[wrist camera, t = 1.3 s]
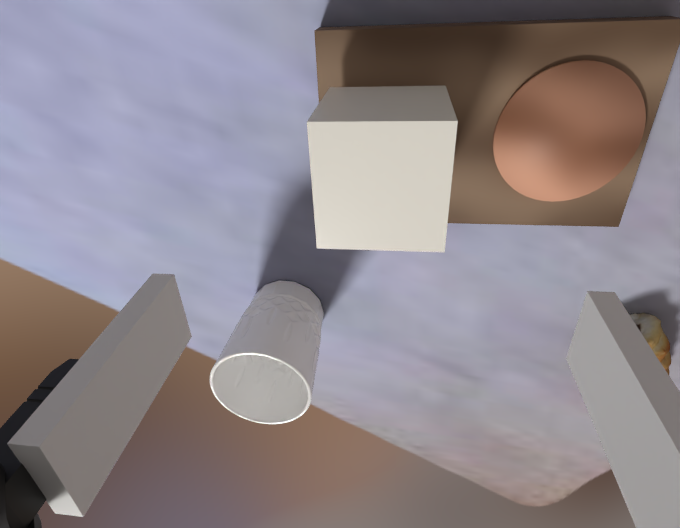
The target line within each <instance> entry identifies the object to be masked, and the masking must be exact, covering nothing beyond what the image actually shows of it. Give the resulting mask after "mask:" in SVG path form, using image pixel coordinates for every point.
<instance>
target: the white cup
mask: <svg viewBox="0 0 680 528" xmlns="http://www.w3.org/2000/svg"><path fill="white" fill-rule="evenodd" d="M323 316H324V313H323V309H322V305H321V302H320V300H319V299H318V297H317V296H316V295H315V294H314V293H313V292H312V291H311V290H310V289H309V288H307V287H305V286H302V285H300V284H298V283H296V282H291V281H280V280H279V281H275V282H272V283H269V284H266V285H264V286H263V287H262V288H261V289H260V290H259V291H258V292H257V293H256V294H255V296H254V298H253V299H252V301H251V303H250V305H249V307H248V308H247V309H246V311H245V312H244V314H243V315H242V317H241V319H240V321H239V322H238V324H237V325H236V327H235V329H234V331H233V333H232V334H231V336H230V338H229V340H228V342H227V343H226V345H225V347H224V349H223V351H222V352H221V354H220V356H219V358H218V360H217V361H216V363H215V365H214V367H213V369H212V371H211V374H210V386H211V389H212V391H213V393H214V395H215V397H216V398H217V400H218V401H219V402H220V403H221V404H222V405H223V406H224V407H225V408H227V409H228V410H229V411H231V412H232V413H234V414H236V415H238V416H240V417H242V418H244V419H247V420H250V421H253V422H258V423H264V424H281V423H286V422H290V421H293V420H295V419H297V418H299V417H300V416H301V415H303V414H304V413H305V412H306V410H307V409H308V407H309V405H310V403H311V398H312V391H313V385H314V379H315V373H316V367H317V361H318V356H319V347H320V340H321V326H322V321H323Z"/></svg>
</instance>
